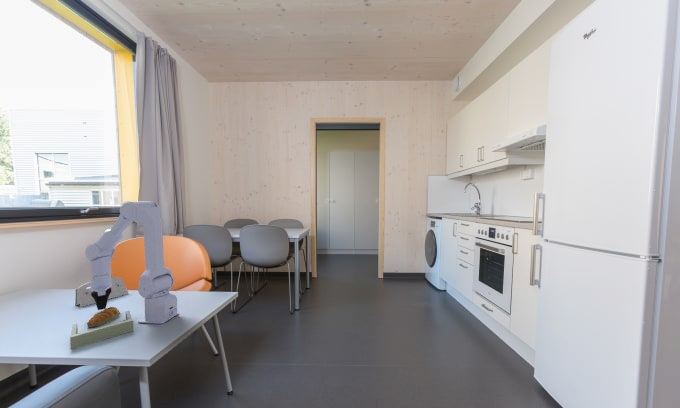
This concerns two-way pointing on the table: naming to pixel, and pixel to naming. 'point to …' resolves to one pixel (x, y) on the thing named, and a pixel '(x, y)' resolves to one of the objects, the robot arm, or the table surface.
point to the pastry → (103, 317)
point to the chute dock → (100, 332)
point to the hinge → (85, 296)
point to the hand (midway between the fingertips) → (101, 308)
